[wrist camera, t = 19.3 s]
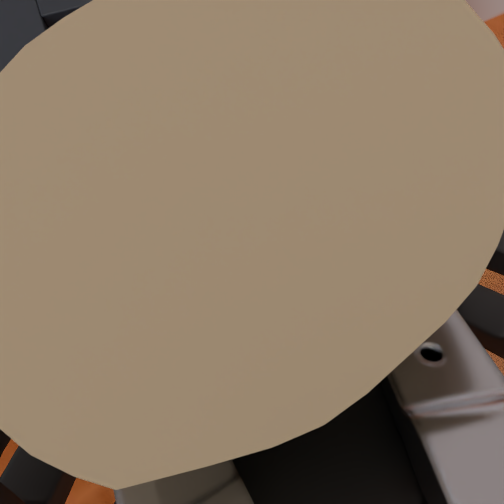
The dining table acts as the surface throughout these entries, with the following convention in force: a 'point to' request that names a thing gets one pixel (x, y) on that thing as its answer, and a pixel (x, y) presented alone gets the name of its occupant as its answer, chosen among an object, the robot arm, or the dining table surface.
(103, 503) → the dining table surface
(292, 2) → the handle
